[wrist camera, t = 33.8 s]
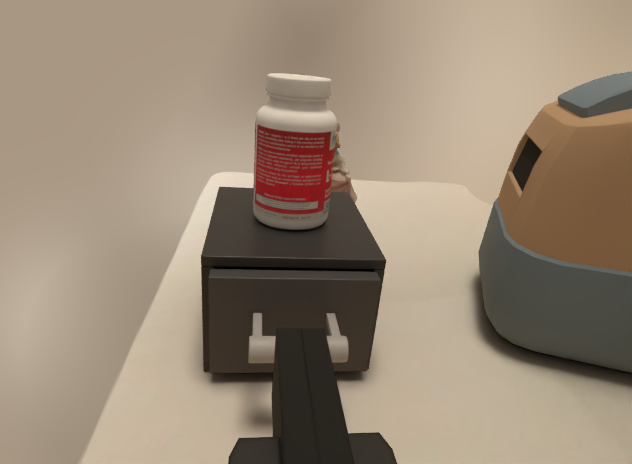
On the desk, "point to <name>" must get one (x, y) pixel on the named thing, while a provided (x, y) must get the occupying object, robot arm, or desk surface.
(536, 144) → the tan rounded box
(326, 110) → the pill bottle
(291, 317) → the drawer
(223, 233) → the small cabinet
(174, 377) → the desk surface
